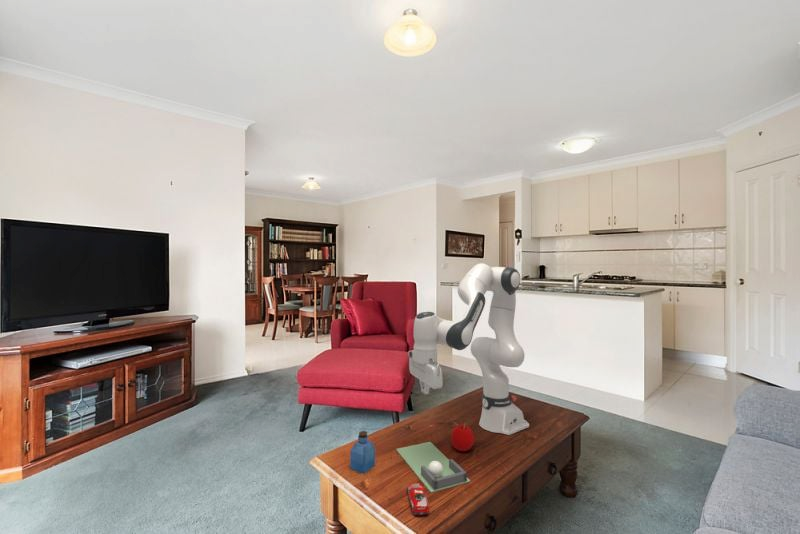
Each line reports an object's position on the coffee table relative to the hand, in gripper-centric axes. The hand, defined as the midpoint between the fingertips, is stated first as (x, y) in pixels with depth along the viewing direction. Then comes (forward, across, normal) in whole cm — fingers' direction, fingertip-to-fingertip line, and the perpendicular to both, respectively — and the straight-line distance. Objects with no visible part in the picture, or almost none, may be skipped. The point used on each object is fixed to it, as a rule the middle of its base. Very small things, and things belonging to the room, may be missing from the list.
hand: (425, 392), depth 131 cm
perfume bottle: (+24, +3, +23) cm, 34 cm away
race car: (+24, -21, +14) cm, 35 cm away
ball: (+21, -12, +2) cm, 25 cm away
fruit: (+25, 0, -17) cm, 30 cm away
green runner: (+24, -5, 0) cm, 25 cm away
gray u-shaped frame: (+24, -14, 0) cm, 28 cm away
